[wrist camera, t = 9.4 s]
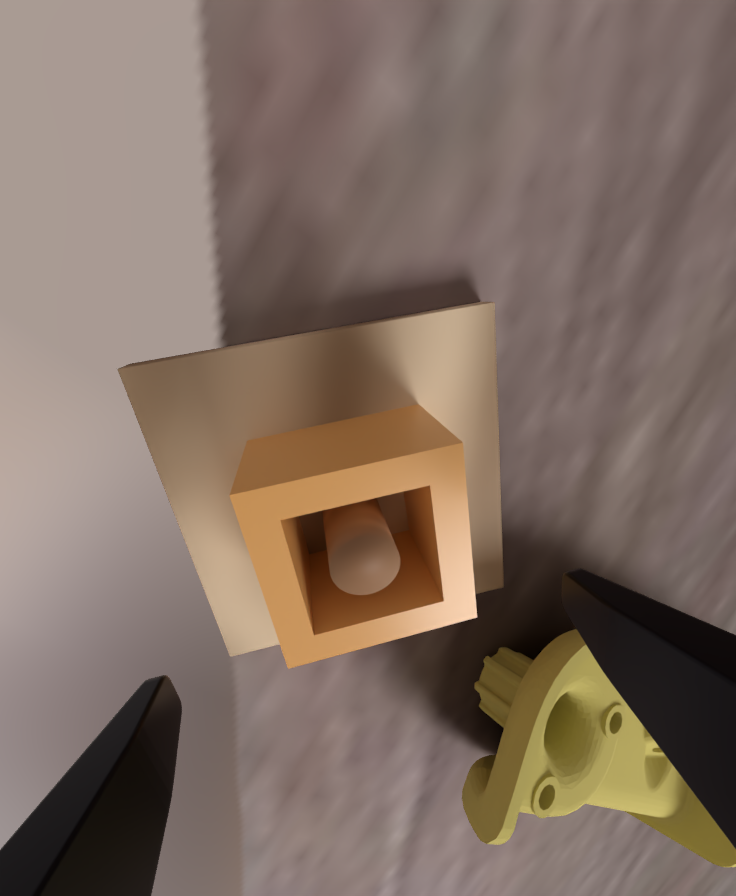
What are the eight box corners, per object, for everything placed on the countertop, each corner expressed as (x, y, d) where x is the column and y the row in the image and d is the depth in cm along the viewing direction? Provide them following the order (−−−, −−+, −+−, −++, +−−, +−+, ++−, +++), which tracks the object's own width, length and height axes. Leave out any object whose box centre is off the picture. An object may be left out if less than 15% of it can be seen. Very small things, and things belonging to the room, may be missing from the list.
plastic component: (774, 706, 23) (737, 903, 21) (638, 648, 30) (599, 793, 27) (574, 597, 15) (479, 898, 13) (448, 552, 22) (372, 746, 19)
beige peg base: (481, 301, 14) (572, 304, 10) (493, 572, 19) (558, 663, 14) (129, 363, 13) (39, 401, 8) (233, 637, 17) (211, 760, 13)
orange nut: (418, 404, 14) (463, 442, 10) (435, 544, 16) (477, 617, 13) (247, 440, 13) (229, 495, 10) (289, 581, 16) (288, 668, 12)
